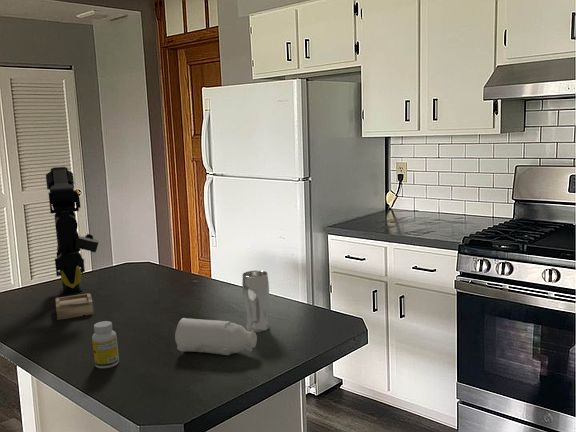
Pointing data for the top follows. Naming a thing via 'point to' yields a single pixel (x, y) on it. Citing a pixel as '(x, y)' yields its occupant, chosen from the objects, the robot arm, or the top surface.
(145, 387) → the top surface
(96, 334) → the supplement bottle
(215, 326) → the white plastic bottle
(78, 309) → the wooden serving tray
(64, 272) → the robot arm
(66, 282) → the lemon
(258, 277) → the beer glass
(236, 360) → the top surface
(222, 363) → the top surface
